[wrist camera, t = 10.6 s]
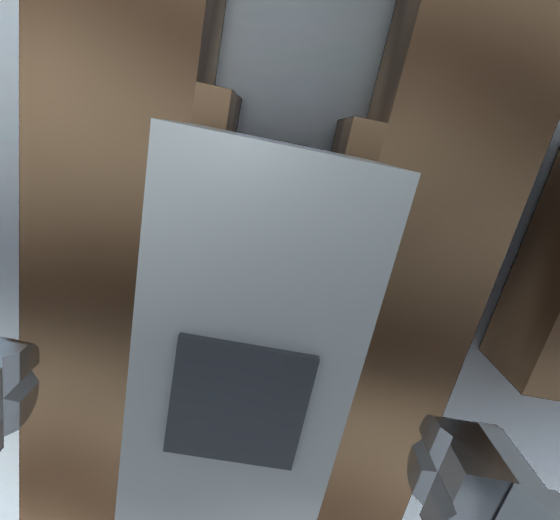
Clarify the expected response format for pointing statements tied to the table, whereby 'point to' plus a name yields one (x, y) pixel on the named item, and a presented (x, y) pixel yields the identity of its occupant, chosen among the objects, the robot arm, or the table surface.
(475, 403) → the table surface
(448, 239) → the keyhole board
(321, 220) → the power strip
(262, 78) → the table surface
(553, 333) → the brown block
